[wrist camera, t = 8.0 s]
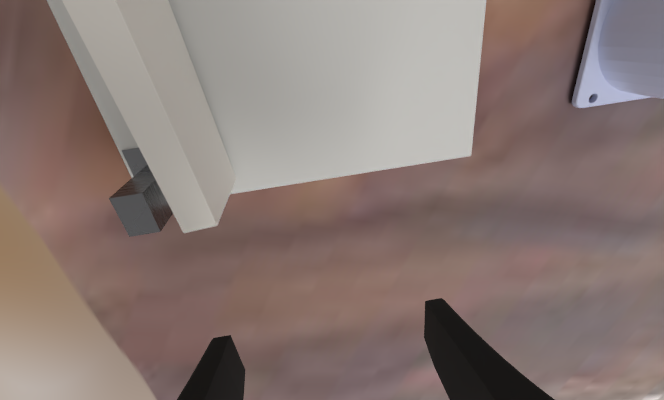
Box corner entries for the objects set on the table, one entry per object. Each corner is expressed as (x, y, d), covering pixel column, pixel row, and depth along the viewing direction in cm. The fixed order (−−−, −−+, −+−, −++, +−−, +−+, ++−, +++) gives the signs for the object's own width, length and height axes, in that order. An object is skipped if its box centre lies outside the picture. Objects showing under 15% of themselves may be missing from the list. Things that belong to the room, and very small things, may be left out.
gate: (-13, -270, 10) (-419, -670, 4) (85, -291, 10) (-189, -719, 4) (196, 187, 18) (151, 257, 12) (250, 175, 18) (230, 240, 12)
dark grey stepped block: (184, 138, 17) (146, 174, 13) (204, 195, 19) (177, 243, 15) (125, 147, 17) (67, 186, 13) (152, 203, 19) (108, 255, 14)
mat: (512, -327, 11) (519, -338, 11) (467, 153, 20) (471, 155, 19) (-73, -266, 10) (-87, -277, 10) (148, 204, 19) (145, 207, 19)
